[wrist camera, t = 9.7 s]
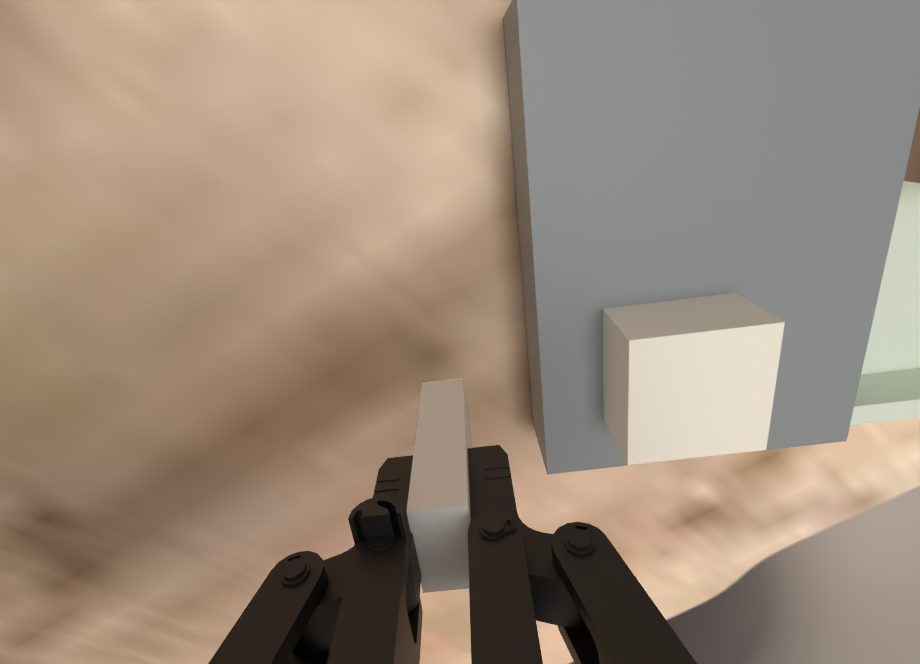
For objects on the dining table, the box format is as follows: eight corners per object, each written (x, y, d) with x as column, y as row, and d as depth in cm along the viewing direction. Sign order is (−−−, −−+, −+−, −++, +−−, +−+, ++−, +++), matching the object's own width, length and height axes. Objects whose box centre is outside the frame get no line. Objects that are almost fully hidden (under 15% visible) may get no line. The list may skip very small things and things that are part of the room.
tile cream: (603, 419, 21) (627, 464, 18) (602, 308, 19) (629, 340, 16) (723, 406, 21) (766, 449, 18) (735, 292, 19) (784, 322, 16)
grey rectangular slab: (533, 423, 26) (547, 474, 22) (503, 18, 19) (516, -8, 15) (788, 394, 25) (846, 440, 21) (855, -30, 18) (958, -69, 15)
